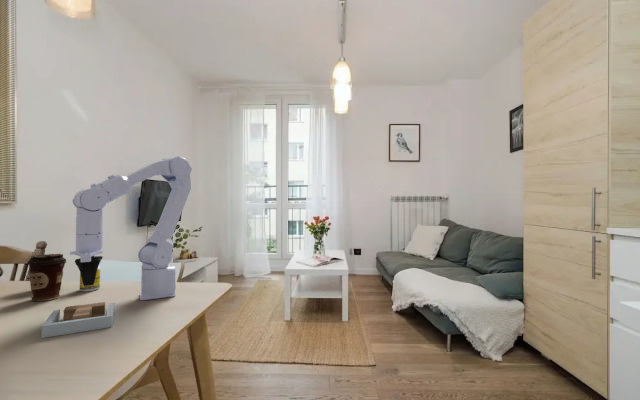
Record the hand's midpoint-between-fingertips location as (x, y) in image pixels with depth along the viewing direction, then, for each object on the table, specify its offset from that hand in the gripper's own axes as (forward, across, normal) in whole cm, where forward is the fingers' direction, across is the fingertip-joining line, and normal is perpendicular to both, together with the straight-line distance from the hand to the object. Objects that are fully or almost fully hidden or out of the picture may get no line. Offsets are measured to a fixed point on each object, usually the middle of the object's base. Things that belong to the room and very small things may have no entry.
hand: (88, 284), depth 83 cm
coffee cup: (+7, -18, -12) cm, 23 cm away
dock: (+7, +11, 0) cm, 13 cm away
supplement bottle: (+7, -24, -2) cm, 26 cm away
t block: (+7, +9, 0) cm, 11 cm away
